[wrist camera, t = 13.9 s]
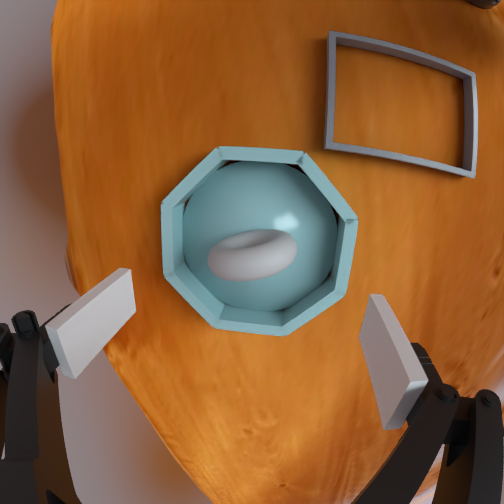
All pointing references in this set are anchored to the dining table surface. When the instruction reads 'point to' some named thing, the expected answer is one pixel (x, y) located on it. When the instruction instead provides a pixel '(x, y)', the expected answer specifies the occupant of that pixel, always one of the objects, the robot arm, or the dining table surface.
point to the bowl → (256, 218)
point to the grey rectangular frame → (417, 57)
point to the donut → (252, 255)
